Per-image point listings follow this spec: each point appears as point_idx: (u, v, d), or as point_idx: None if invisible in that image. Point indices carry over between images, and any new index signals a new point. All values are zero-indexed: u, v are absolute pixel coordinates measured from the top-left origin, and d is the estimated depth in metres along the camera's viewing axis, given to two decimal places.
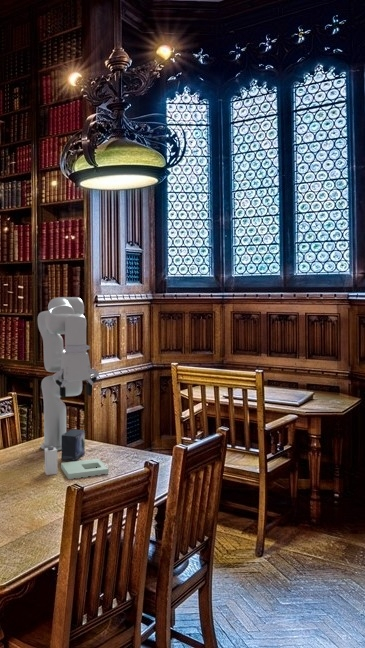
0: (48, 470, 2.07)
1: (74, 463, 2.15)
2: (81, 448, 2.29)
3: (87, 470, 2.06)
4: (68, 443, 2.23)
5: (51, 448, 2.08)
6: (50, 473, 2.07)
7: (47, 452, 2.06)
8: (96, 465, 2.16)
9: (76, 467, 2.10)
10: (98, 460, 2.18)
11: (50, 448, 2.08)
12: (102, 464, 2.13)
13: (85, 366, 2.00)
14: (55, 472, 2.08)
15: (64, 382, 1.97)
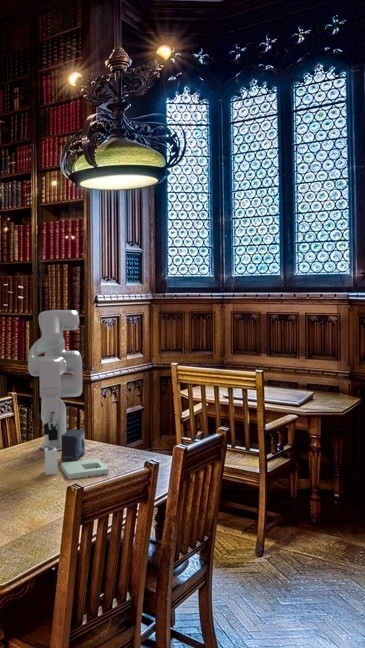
0: (48, 470, 2.07)
1: (74, 463, 2.15)
2: (81, 448, 2.29)
3: (87, 470, 2.06)
4: (68, 443, 2.23)
5: (51, 448, 2.08)
6: (50, 473, 2.07)
7: (47, 452, 2.06)
8: (96, 465, 2.16)
9: (76, 467, 2.10)
10: (98, 460, 2.18)
11: (50, 448, 2.08)
12: (102, 464, 2.13)
13: None
14: (55, 472, 2.08)
15: (56, 424, 2.04)
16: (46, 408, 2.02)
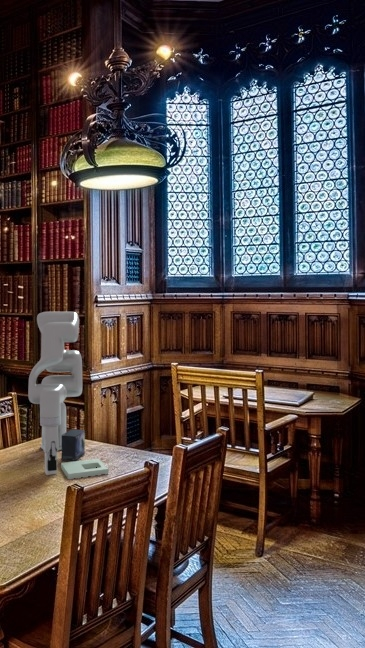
0: None
1: (74, 463, 2.15)
2: (81, 448, 2.29)
3: (87, 470, 2.06)
4: (68, 443, 2.23)
5: None
6: (50, 473, 2.07)
7: (47, 452, 2.06)
8: (96, 465, 2.16)
9: (76, 467, 2.10)
10: (98, 460, 2.18)
11: None
12: (102, 464, 2.13)
13: None
14: (55, 472, 2.08)
15: None
16: (46, 438, 2.03)
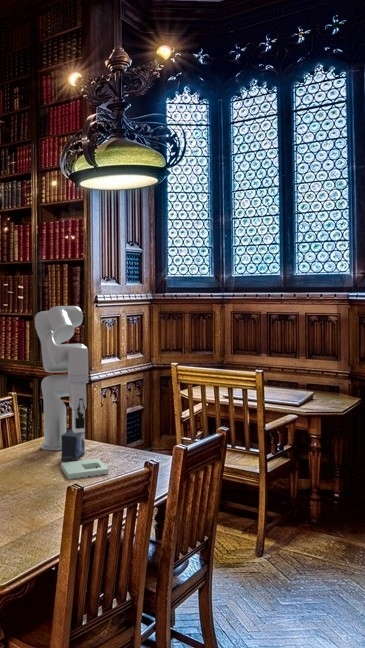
0: None
1: (74, 463, 2.15)
2: (81, 448, 2.29)
3: (87, 470, 2.06)
4: (68, 443, 2.23)
5: None
6: (77, 431, 2.08)
7: (75, 410, 2.07)
8: (96, 465, 2.16)
9: (76, 467, 2.10)
10: (98, 460, 2.18)
11: None
12: (102, 464, 2.13)
13: None
14: (82, 430, 2.08)
15: None
16: (74, 395, 2.04)
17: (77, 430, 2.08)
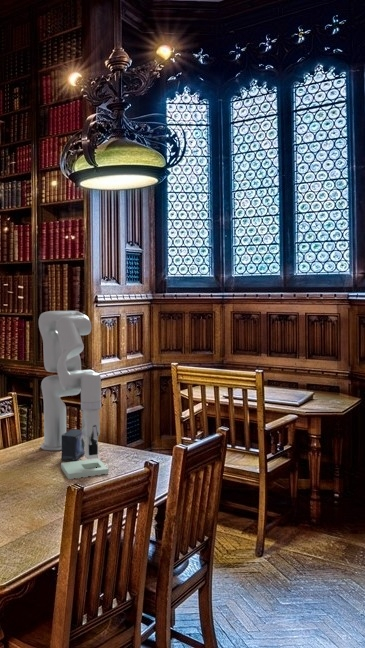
0: None
1: (74, 463, 2.15)
2: (81, 448, 2.29)
3: (87, 470, 2.06)
4: (68, 443, 2.23)
5: None
6: (91, 457, 2.09)
7: None
8: (96, 465, 2.16)
9: (76, 467, 2.10)
10: (98, 460, 2.18)
11: None
12: (102, 464, 2.13)
13: None
14: (96, 456, 2.10)
15: None
16: (88, 422, 2.05)
17: (90, 456, 2.09)
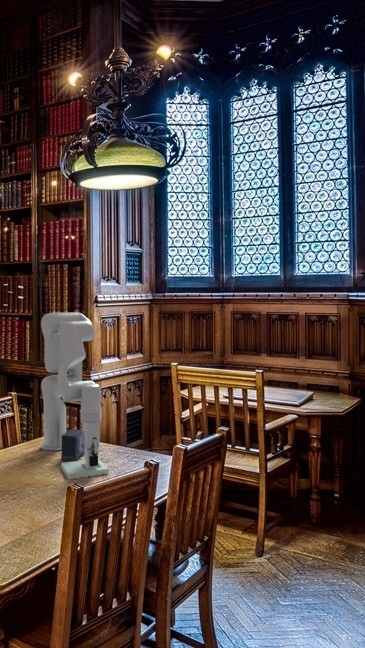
0: (89, 468, 2.09)
1: (74, 463, 2.15)
2: (81, 448, 2.29)
3: (87, 470, 2.06)
4: (68, 443, 2.23)
5: (91, 446, 2.10)
6: None
7: (88, 450, 2.09)
8: None
9: (76, 467, 2.10)
10: (98, 460, 2.18)
11: None
12: (102, 464, 2.13)
13: None
14: None
15: None
16: (88, 434, 2.05)
17: None
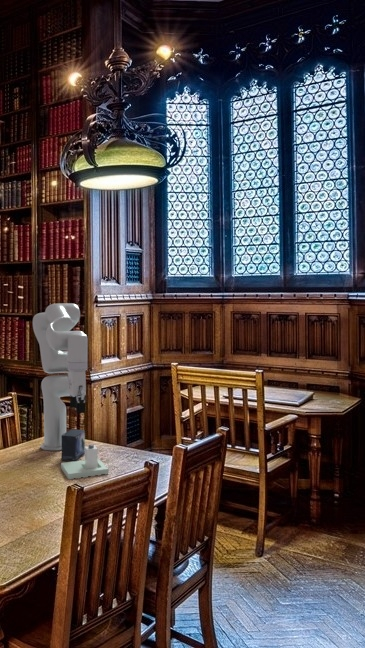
0: (89, 468, 2.09)
1: (74, 463, 2.15)
2: (81, 448, 2.29)
3: (87, 470, 2.06)
4: (68, 443, 2.23)
5: (91, 446, 2.10)
6: None
7: (88, 450, 2.09)
8: None
9: (76, 467, 2.10)
10: (98, 460, 2.18)
11: (90, 446, 2.10)
12: (102, 464, 2.13)
13: None
14: None
15: None
16: (74, 382, 2.07)
17: None
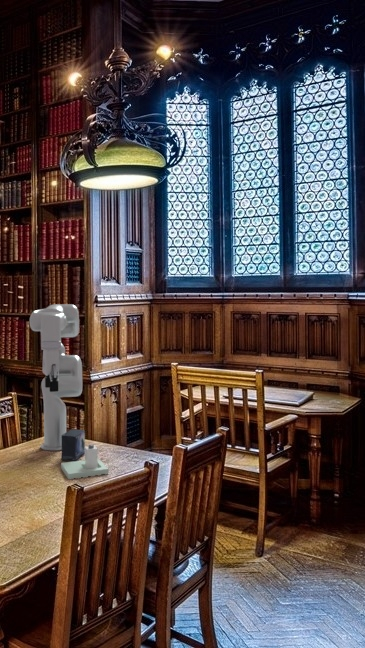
0: (89, 468, 2.09)
1: (74, 463, 2.15)
2: (81, 448, 2.29)
3: (87, 470, 2.06)
4: (68, 443, 2.23)
5: (91, 446, 2.10)
6: None
7: (88, 450, 2.09)
8: None
9: (76, 467, 2.10)
10: (98, 460, 2.18)
11: (90, 446, 2.10)
12: (102, 464, 2.13)
13: None
14: None
15: (57, 376, 2.12)
16: (47, 360, 2.10)
17: None
